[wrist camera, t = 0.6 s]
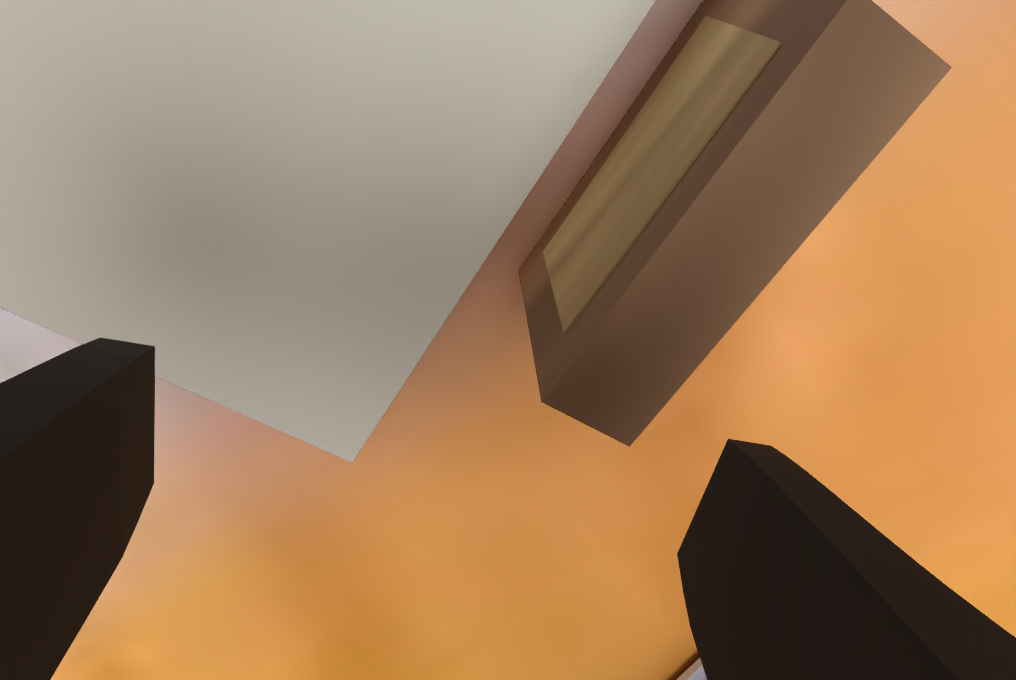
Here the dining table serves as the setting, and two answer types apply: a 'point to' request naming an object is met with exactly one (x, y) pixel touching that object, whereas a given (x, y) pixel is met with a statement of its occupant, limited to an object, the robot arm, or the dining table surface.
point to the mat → (279, 180)
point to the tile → (710, 194)
